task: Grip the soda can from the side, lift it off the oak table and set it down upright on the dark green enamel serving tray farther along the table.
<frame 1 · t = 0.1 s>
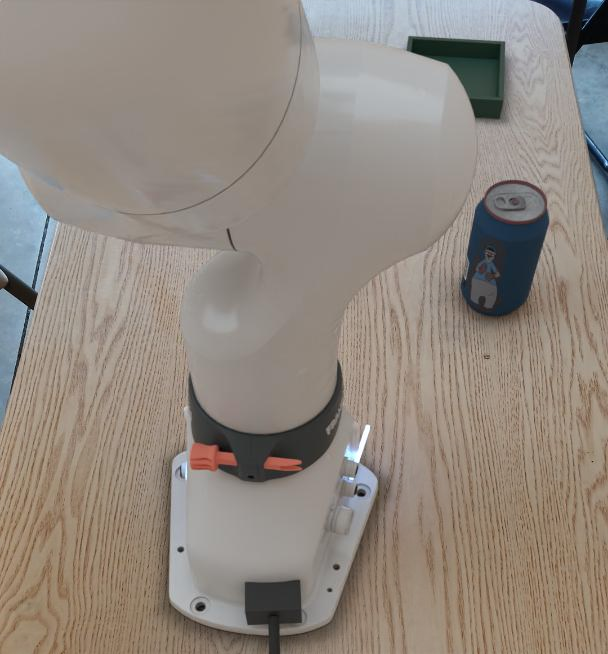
soda can: (492, 299, 86), on the table
serving tray: (451, 85, 104), on the table
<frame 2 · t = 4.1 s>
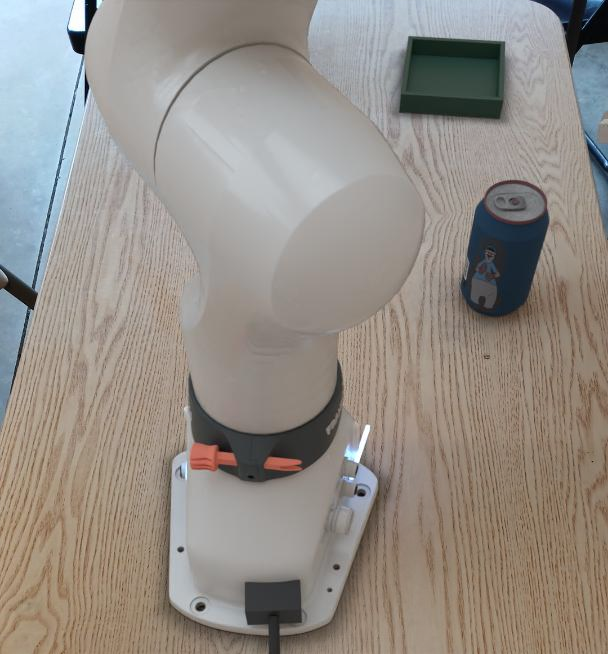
nothing on the table moved.
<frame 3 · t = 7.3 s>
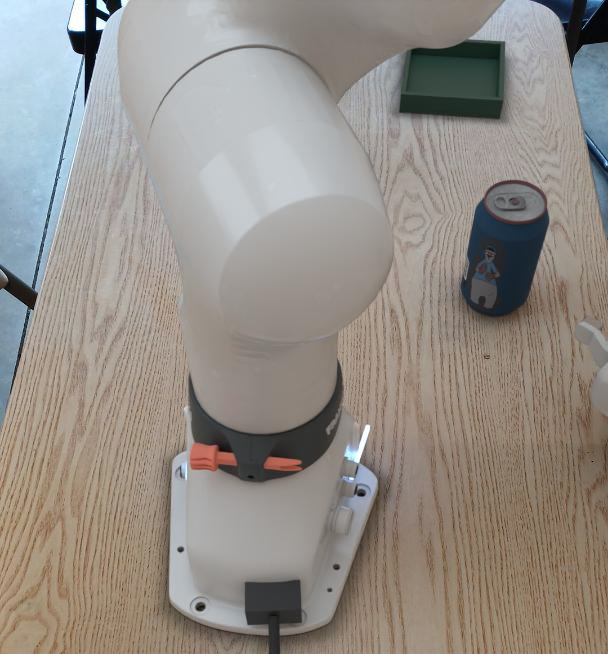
nothing on the table moved.
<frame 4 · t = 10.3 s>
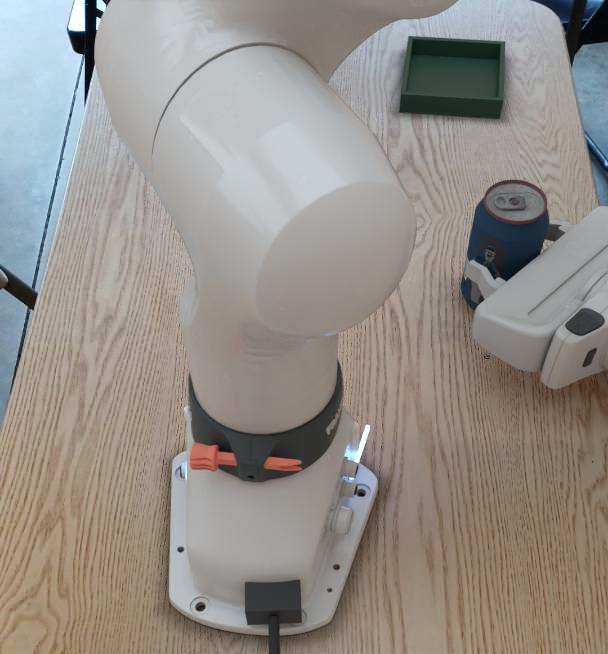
hand: (496, 243, 81), 7 cm above the table, tool horizontal, fingers closed on soda can, 7 cm apart
soda can: (492, 299, 86), on the table, touching gripper
everything else where it was.
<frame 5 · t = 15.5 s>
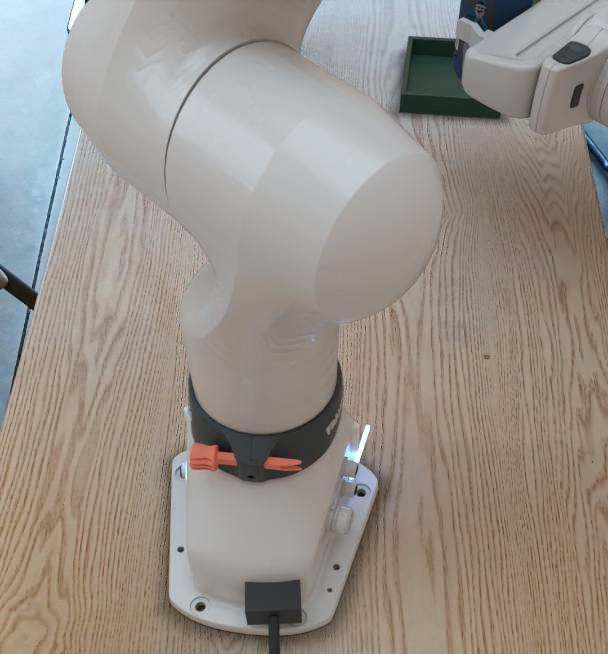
hand: (487, 7, 82), 17 cm above the table, tool horizontal, fingers closed on soda can, 7 cm apart
soda can: (483, 77, 88), point 10 cm above the table, touching gripper
everything else where it was.
when the fingers open (7 cm above the table, at t = 20.8 s): soda can stays where it is, resting on serving tray.
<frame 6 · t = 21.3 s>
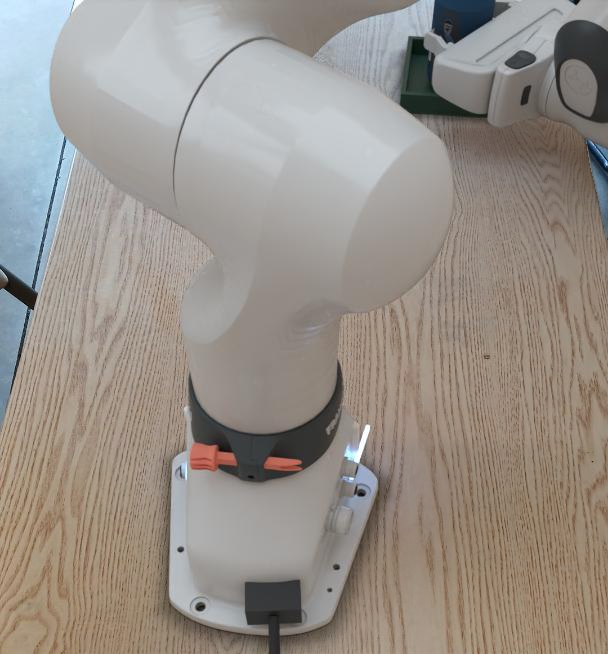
hand: (454, 20, 98), 8 cm above the table, tool horizontal, fingers open, 8 cm apart
soda can: (453, 84, 104), resting on serving tray
everything else where it was.
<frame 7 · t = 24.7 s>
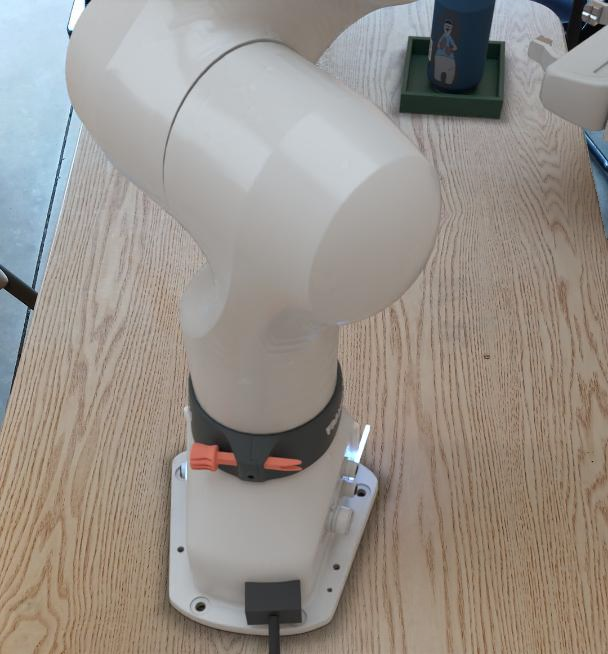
hand: (560, 26, 88), 13 cm above the table, tool horizontal, fingers open, 8 cm apart
nothing on the table moved.
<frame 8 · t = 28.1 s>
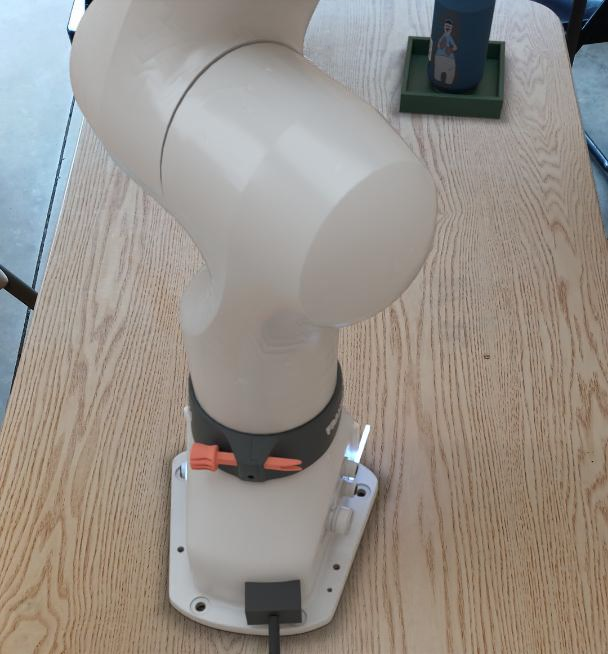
nothing on the table moved.
at the end: soda can inside the target area in the serving tray (0.2 cm from its centre), point 0.2 cm above the serving tray's base; soda can tilted 0°; the gripper is holding nothing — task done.
